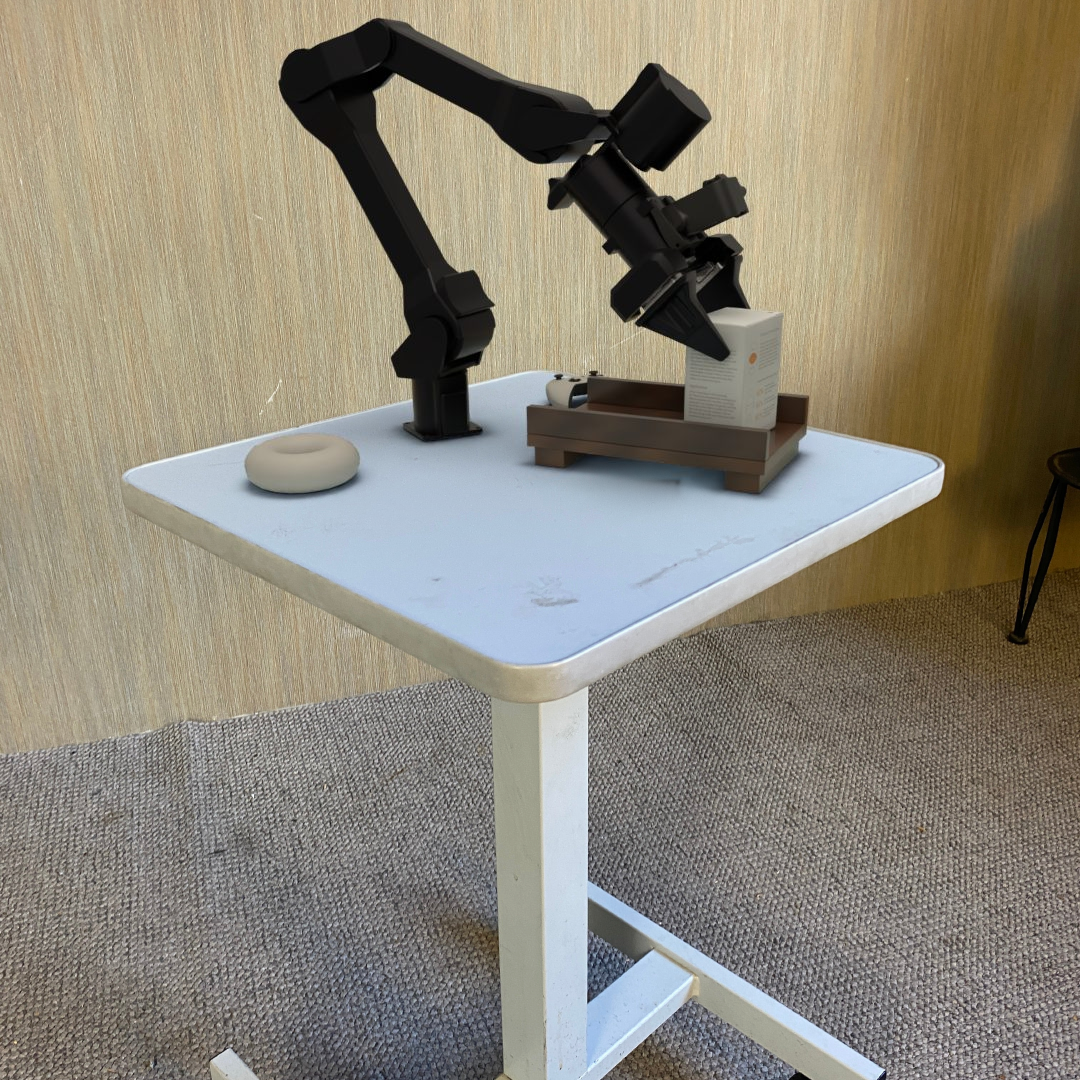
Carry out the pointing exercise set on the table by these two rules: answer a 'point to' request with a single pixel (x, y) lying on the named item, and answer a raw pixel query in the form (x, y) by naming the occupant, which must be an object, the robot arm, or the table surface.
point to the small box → (737, 371)
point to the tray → (665, 432)
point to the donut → (302, 463)
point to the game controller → (567, 389)
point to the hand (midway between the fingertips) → (742, 348)
